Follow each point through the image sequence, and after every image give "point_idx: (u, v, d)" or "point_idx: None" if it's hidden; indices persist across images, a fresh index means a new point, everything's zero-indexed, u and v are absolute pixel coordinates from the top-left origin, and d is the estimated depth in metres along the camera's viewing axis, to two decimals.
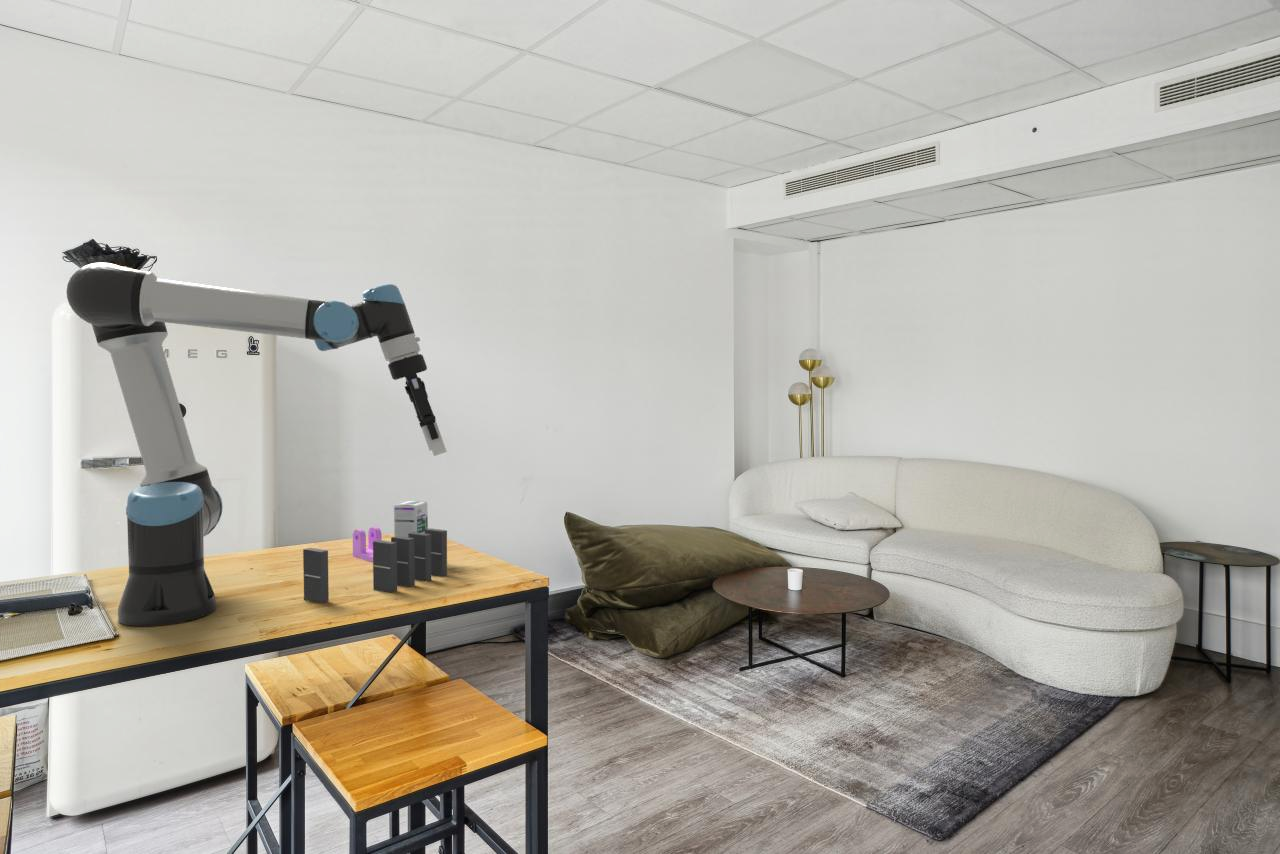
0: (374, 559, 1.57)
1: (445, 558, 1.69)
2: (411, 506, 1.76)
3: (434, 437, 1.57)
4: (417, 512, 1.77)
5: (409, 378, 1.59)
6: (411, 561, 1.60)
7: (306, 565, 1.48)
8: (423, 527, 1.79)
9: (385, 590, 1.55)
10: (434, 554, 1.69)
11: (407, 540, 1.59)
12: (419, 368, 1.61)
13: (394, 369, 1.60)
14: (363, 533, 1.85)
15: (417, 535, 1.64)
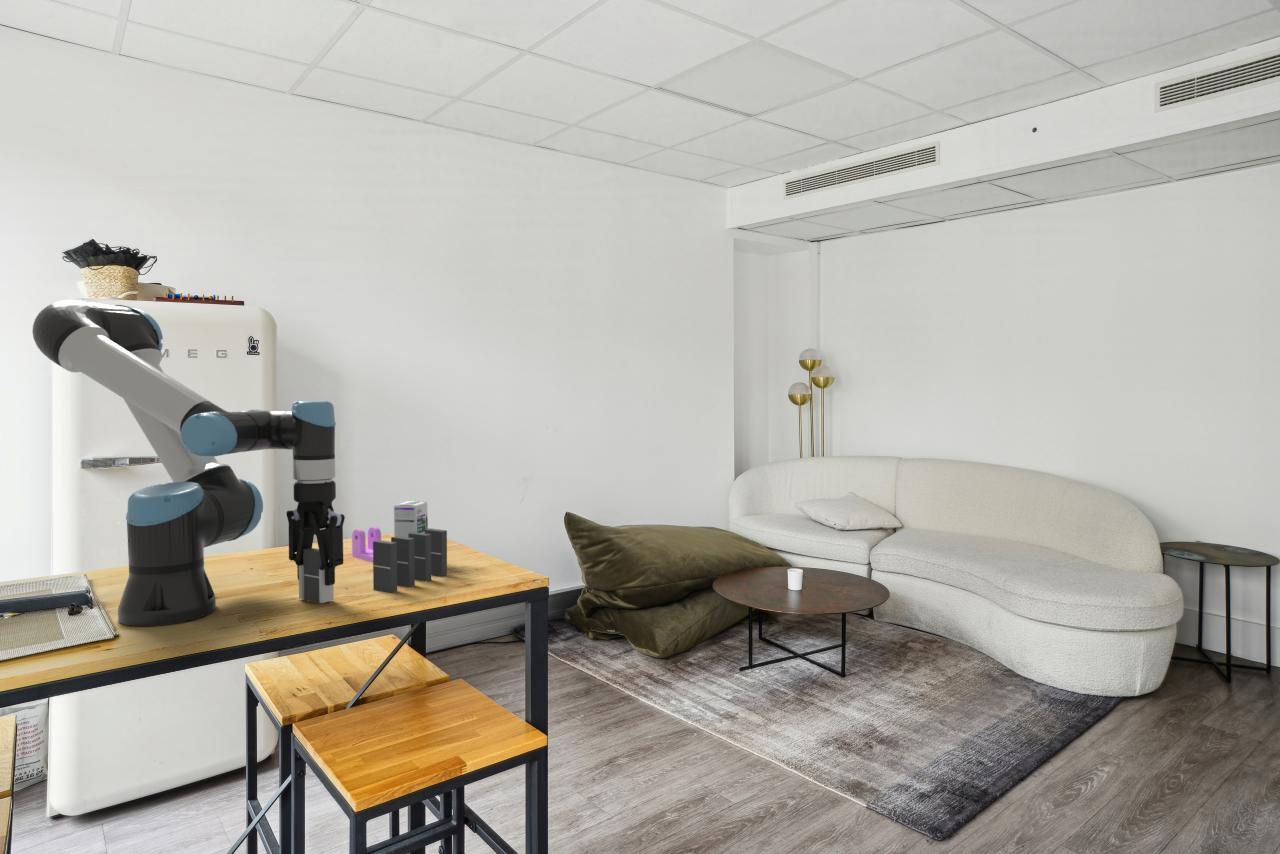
0: (374, 559, 1.57)
1: (445, 558, 1.69)
2: (411, 506, 1.76)
3: (331, 583, 1.46)
4: (417, 512, 1.77)
5: (325, 505, 1.45)
6: (411, 561, 1.60)
7: (306, 565, 1.48)
8: (423, 527, 1.79)
9: (385, 590, 1.55)
10: (434, 554, 1.69)
11: (407, 540, 1.59)
12: (334, 496, 1.48)
13: (311, 492, 1.44)
14: (363, 533, 1.85)
15: (417, 535, 1.64)
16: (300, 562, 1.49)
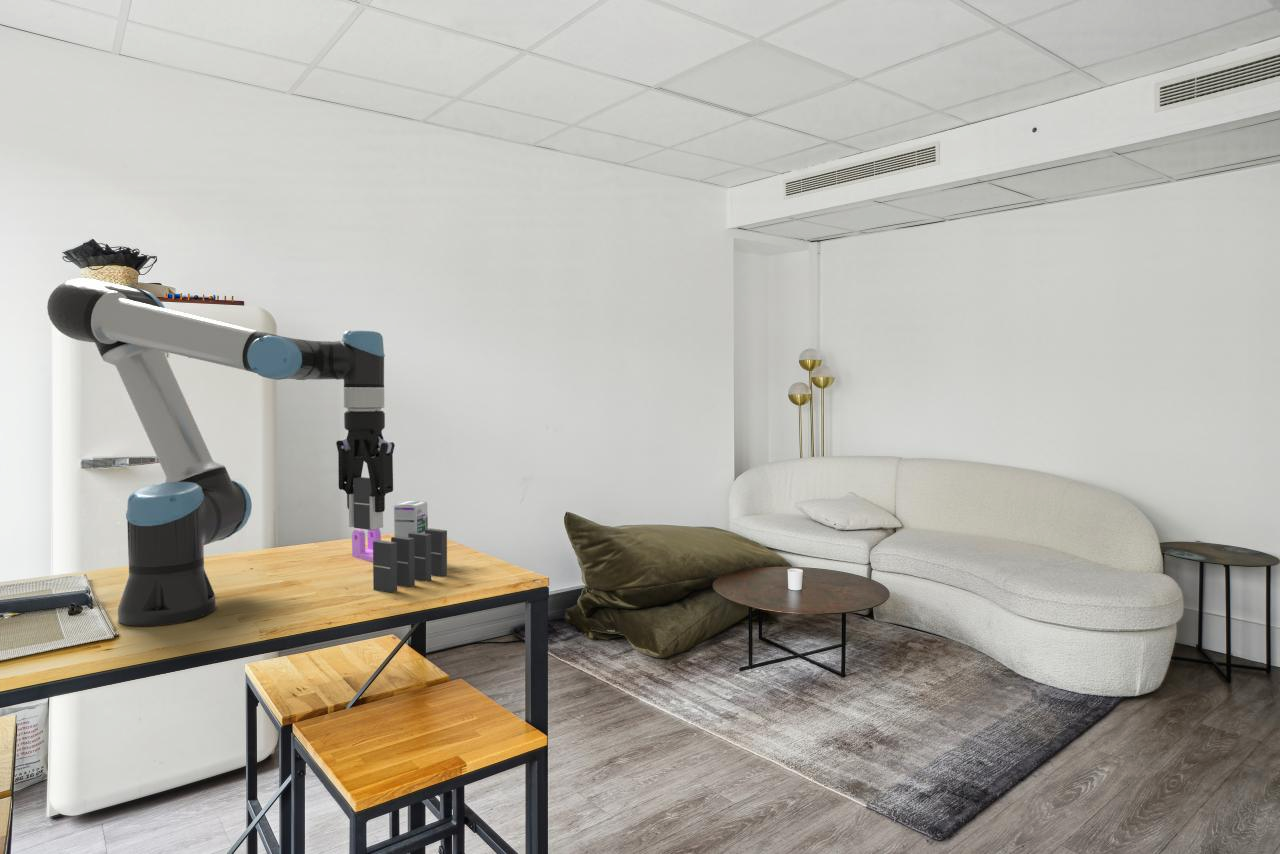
0: (374, 559, 1.57)
1: (445, 558, 1.69)
2: (411, 506, 1.76)
3: (381, 510, 1.49)
4: (417, 512, 1.77)
5: (376, 433, 1.48)
6: (411, 561, 1.60)
7: (356, 493, 1.51)
8: (423, 527, 1.79)
9: (385, 590, 1.55)
10: (435, 554, 1.69)
11: (407, 540, 1.59)
12: (383, 425, 1.51)
13: (362, 419, 1.47)
14: (362, 533, 1.85)
15: (417, 535, 1.64)
16: (350, 491, 1.52)
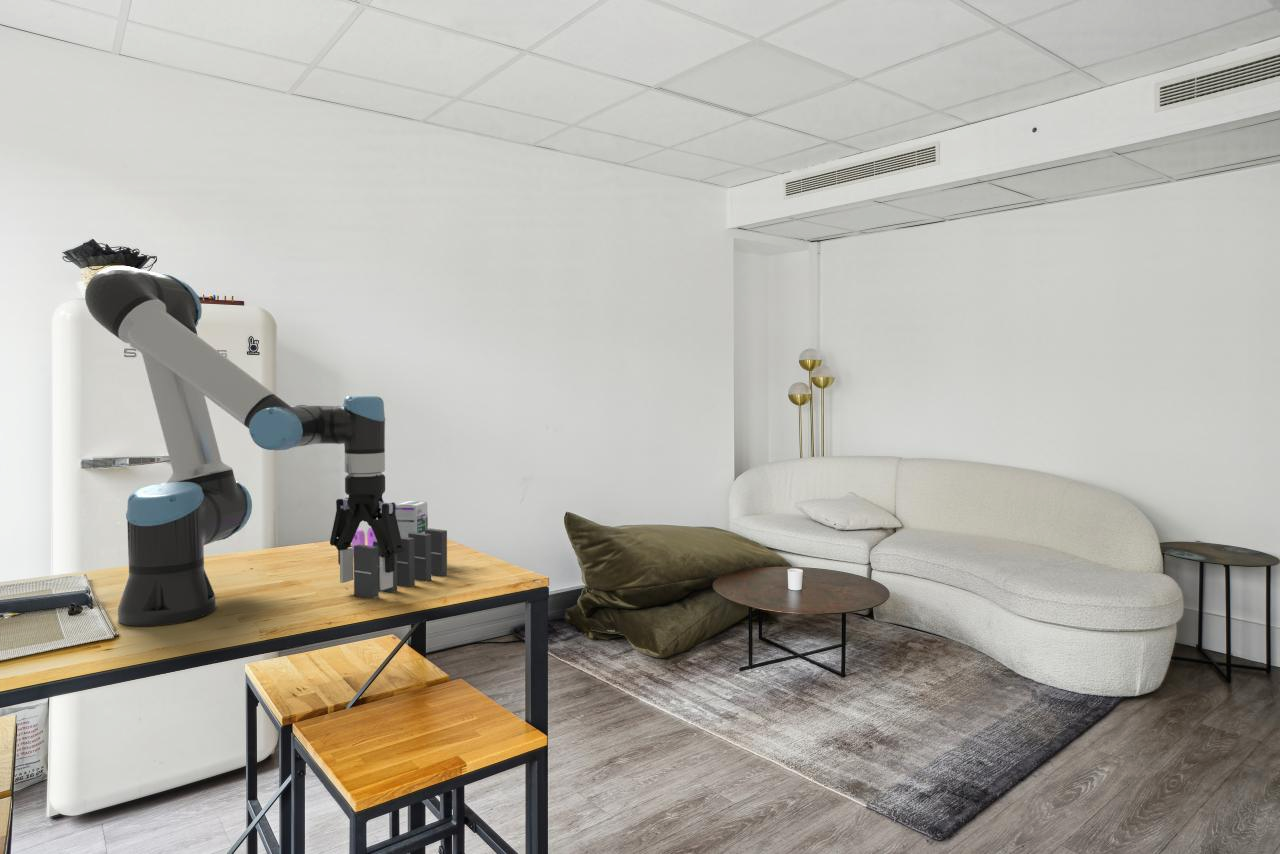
0: None
1: (445, 558, 1.69)
2: (411, 506, 1.76)
3: (391, 570, 1.49)
4: (417, 512, 1.77)
5: (376, 498, 1.49)
6: (411, 561, 1.60)
7: (356, 561, 1.52)
8: (423, 527, 1.79)
9: (385, 590, 1.55)
10: (435, 554, 1.69)
11: (407, 540, 1.59)
12: (384, 489, 1.51)
13: (363, 485, 1.47)
14: (362, 533, 1.85)
15: (417, 535, 1.64)
16: (341, 548, 1.53)
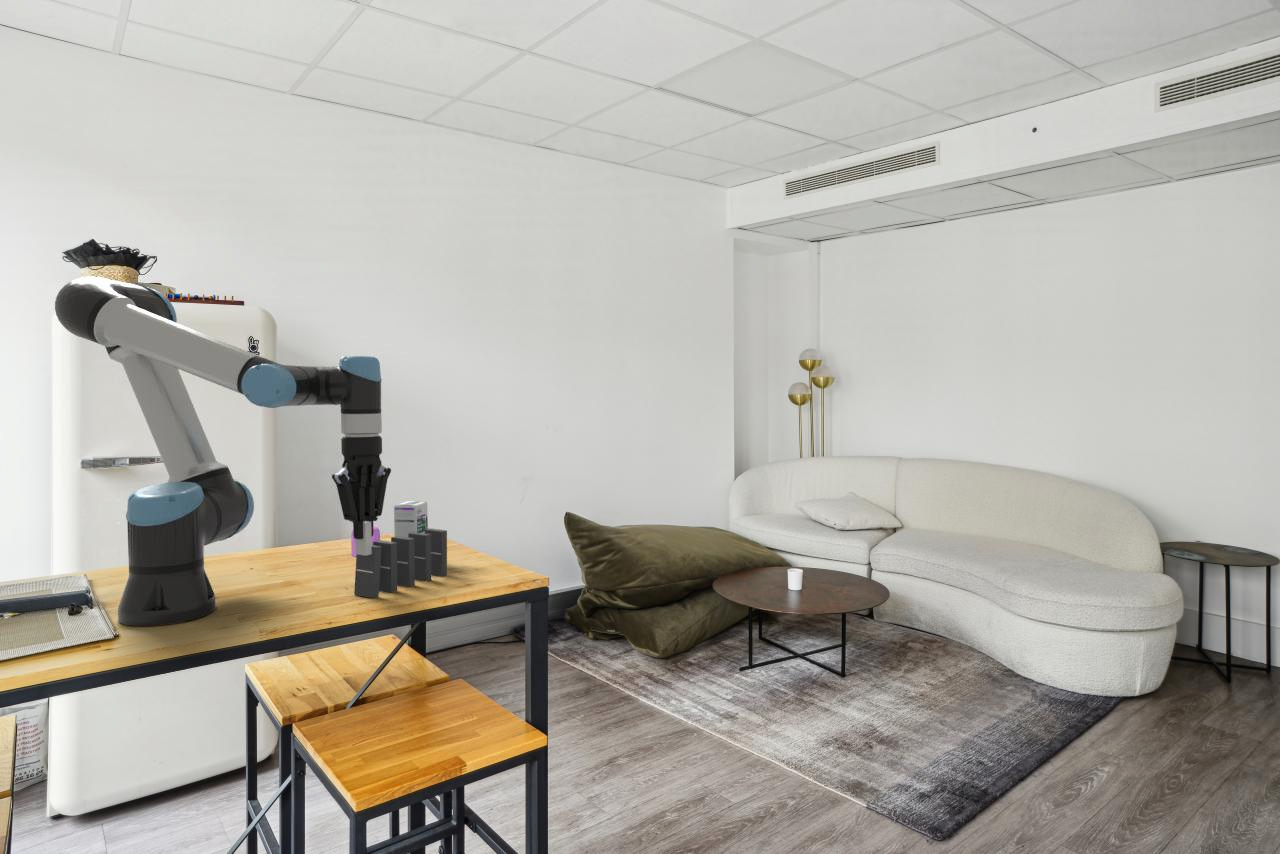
0: None
1: (445, 558, 1.69)
2: (411, 506, 1.76)
3: None
4: (417, 512, 1.77)
5: None
6: (411, 561, 1.60)
7: (359, 560, 1.52)
8: (423, 527, 1.79)
9: (385, 590, 1.55)
10: (434, 554, 1.69)
11: (407, 540, 1.59)
12: None
13: (381, 443, 1.50)
14: None
15: (417, 535, 1.64)
16: None
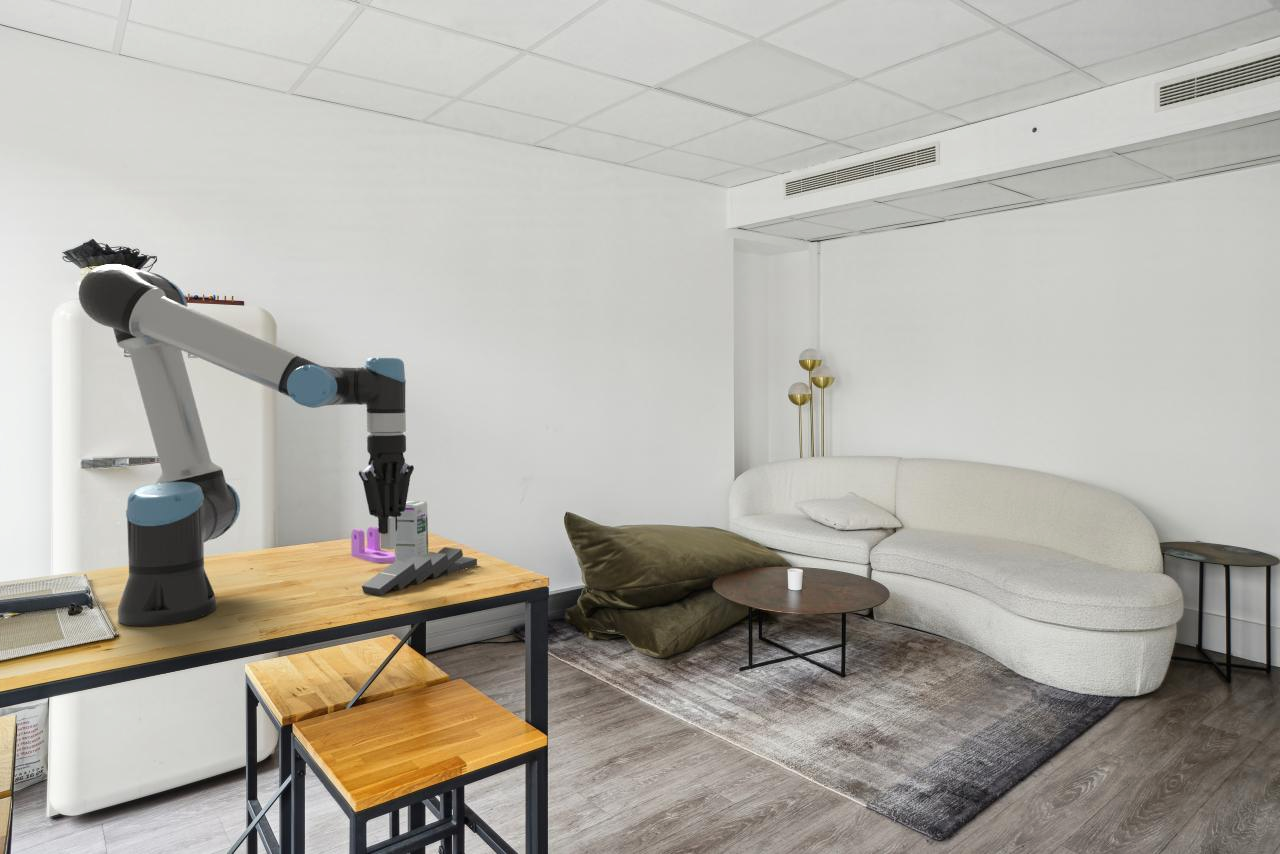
0: None
1: (459, 569, 1.73)
2: (411, 506, 1.76)
3: None
4: (417, 512, 1.77)
5: None
6: (433, 567, 1.65)
7: (388, 568, 1.59)
8: (423, 527, 1.79)
9: None
10: (455, 562, 1.75)
11: (444, 554, 1.69)
12: None
13: (405, 442, 1.56)
14: (362, 533, 1.86)
15: (452, 548, 1.75)
16: None
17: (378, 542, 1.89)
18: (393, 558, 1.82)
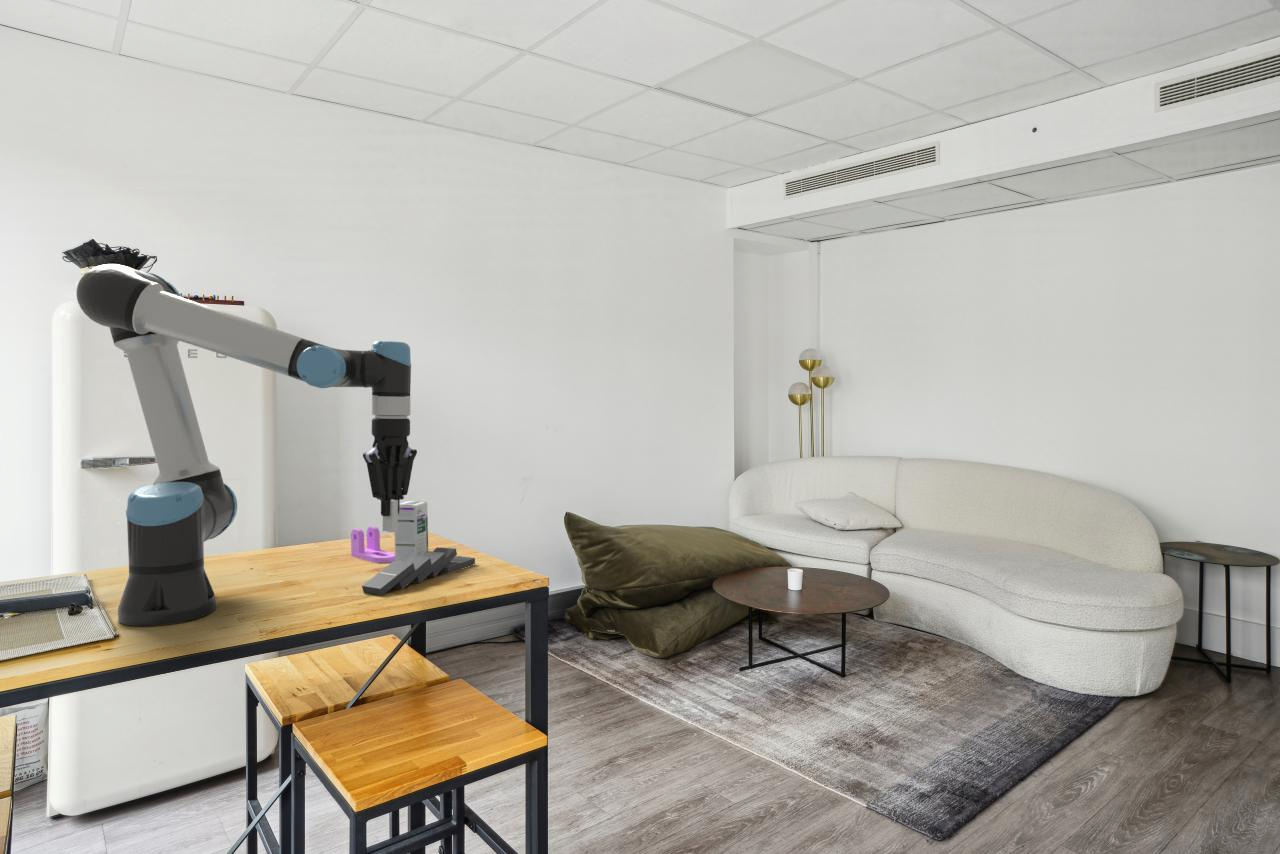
0: None
1: (458, 568, 1.74)
2: (411, 506, 1.76)
3: None
4: (417, 512, 1.77)
5: None
6: (433, 566, 1.66)
7: (388, 568, 1.60)
8: (423, 527, 1.79)
9: None
10: (453, 562, 1.75)
11: (442, 553, 1.70)
12: None
13: None
14: (361, 533, 1.86)
15: (446, 548, 1.76)
16: None
17: (378, 542, 1.89)
18: (393, 558, 1.82)
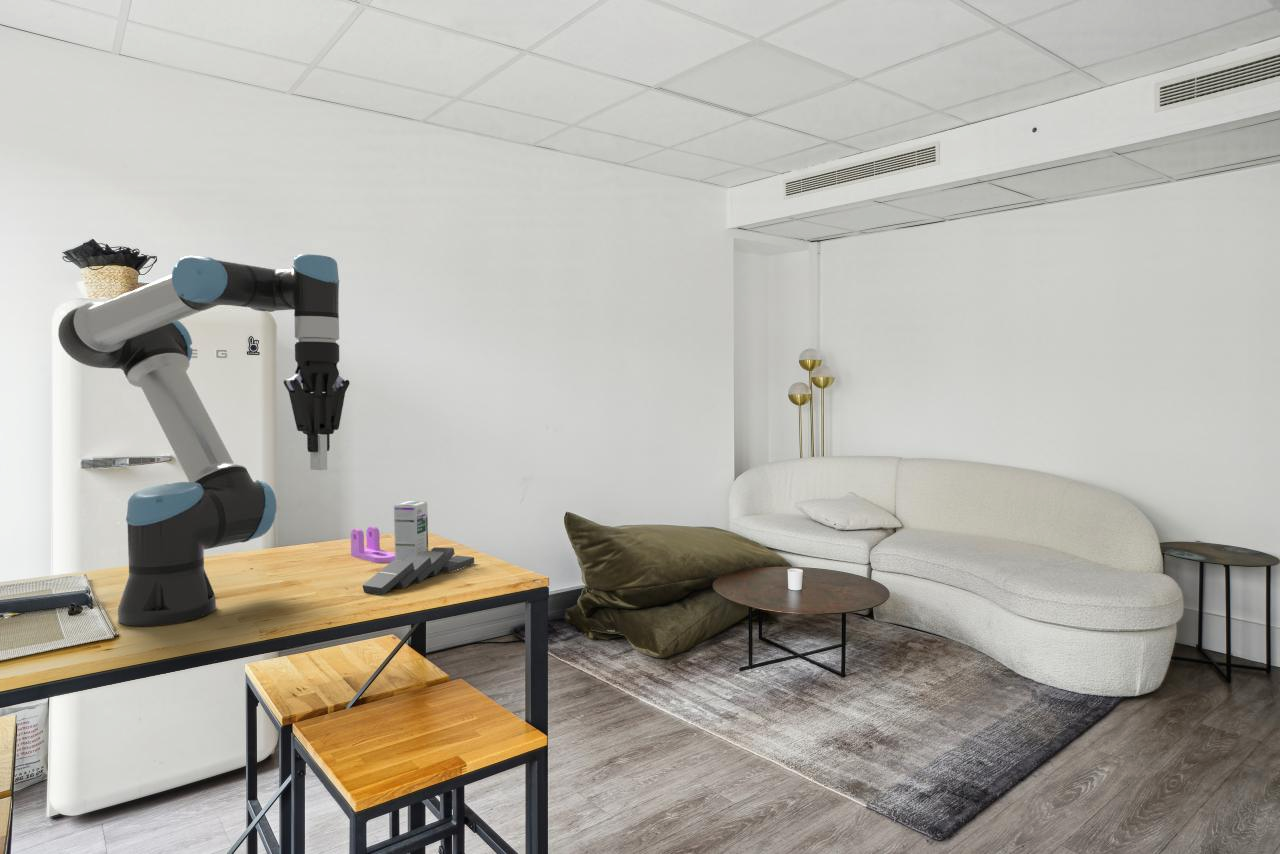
0: None
1: (458, 568, 1.75)
2: (411, 506, 1.76)
3: None
4: (417, 512, 1.77)
5: None
6: (433, 566, 1.67)
7: (387, 567, 1.60)
8: (423, 527, 1.79)
9: None
10: (453, 561, 1.76)
11: (442, 552, 1.70)
12: None
13: None
14: (361, 532, 1.86)
15: (443, 548, 1.77)
16: None
17: (377, 542, 1.89)
18: (392, 558, 1.82)
